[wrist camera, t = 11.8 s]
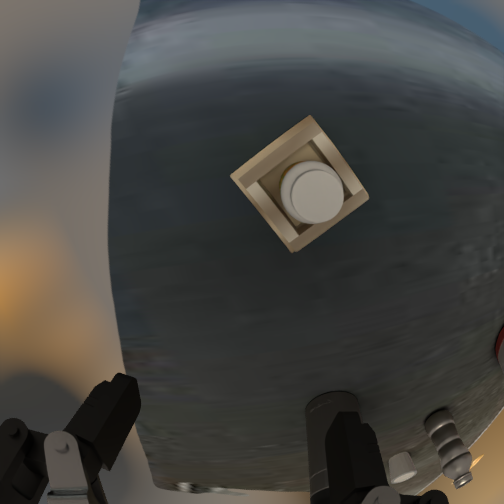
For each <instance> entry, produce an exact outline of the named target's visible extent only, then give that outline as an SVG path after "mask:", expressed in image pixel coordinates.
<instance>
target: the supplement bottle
mask: <svg viewBox="0 0 504 504" xmlns="http://www.w3.org/2000/svg"><path fill="white" fill-rule="evenodd" d="M279 191H280V195H281V200H282V203H283V205H284V207H285V209H286V210H287V212H288V213H289V214H290V215H291V216H292V217H293V218H295V219H296V220H298V221H300V222H303V223H307V224H318V223H322V222H326V221H329V220H331V219H332V218H333V217H335V216H336V215H337V214H338V212H339V211H340V209H341V207H342V205H343V200H344V193H343V185H342V182H341V179H340V178H339V176H338V174H337V173H336V172H335V171H334V170H333V169H332V168H331V167H330V166H328V165H326V164H324V163H321V162H318V161H299V162H296V163H293V164H291V165H290V166H288V167H287V168H286V169H285V170H284V172H283V173H282V175H281V177H280V181H279Z"/></svg>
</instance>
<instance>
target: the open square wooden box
mask: <svg viewBox="0 0 504 504" xmlns="http://www.w3.org/2000/svg"><path fill="white" fill-rule="evenodd" d="M299 161H318V162H321V163H324V164H326V165H328V166H330V167H331V168H332V169H333V170H334V171H335V172H336V173H337V174H338V176H339V178H340V179H341V182H342V185H343V193H344V200H343V205H342V207H341V209H340V211H339V212H338V214H337V215H336V216H335V217H333V218H332V219H331V220H329V221H326V222H322V223H318V224H307V223H303V222H300V221H298V220H296V219H295V218H293V217H292V216H291V215H290V214H289V213H288V212H287V210H286V209H285V207H284V205H283V203H282V200H281V195H280V191H279V181H280V177H281V175H282V173H283V172H284V170H285V169H286V168H287V167H288V166H290V165H291V164H293V163H296V162H299ZM230 177H231V178H232V179H233V180H234V182H235V183H236V184H237V185H238V187H239V188H240V189H241V190H242V191H243V193H244V194H245V195H246V196H247V198H248V199H249V200H250V201H251V202H252V204H253V205H254V206H255V207H256V209H257V210H258V211H259V212H260V214H261V215H262V216H263V217H264V219H265V220H266V221H267V222H268V224H269V225H270V226H271V227H272V229H273V230H274V231H275V232H276V234H277V235H278V236H279V237H280V239H281V240H282V241H283V243H284V244H285V245H286V246H287V248H288V249H289V250H290V252H291V253H293V252H294V251H296V252H297V251H299V250H300V249H302V248H303V247H304V246H306V245H307V244H309V243H310V242H311V241H313V240H314V239H315V238H317V237H318V236H320V235H321V234H322V233H324V232H325V231H326V230H328V229H329V228H330V227H332V226H333V225H335V224H336V223H337V222H339V221H340V220H341V219H343V218H344V217H345V216H347V215H348V214H349V213H351V212H352V211H353V210H355V209H356V208H357V207H359V206H360V205H361V204H363V203H364V202H365V201H367V200H368V199H369V195H368V193H367V192H366V190H365V189H364V187H363V186H362V184H361V183H360V181H359V180H358V178H357V177H356V175H355V174H354V172H353V171H352V170H351V168H350V167H349V165H348V164H347V162H346V161H345V160H344V158H343V157H342V155H341V154H340V153H339V151H338V150H337V149H336V147H335V146H334V145H333V143H332V142H331V141H330V139H329V138H328V137H327V135H326V134H325V133H324V132H323V130H322V129H321V128H320V126H319V125H318V124H317V123H316V121H315V120H314V119H313V118H312V117H311V115H309V116H308V117H306V118H305V119H303V120H302V121H301V122H299V123H298V124H296V125H295V126H294V127H292V128H291V129H290V130H288V131H287V132H285V133H284V134H283V135H281V136H280V137H279V138H277V139H276V140H275V141H273V142H272V143H271V144H269V145H268V146H267V147H266V148H264V149H263V150H262V151H260V152H259V153H258V154H256V155H255V156H254V157H253V158H251V159H250V160H249V161H248V162H246V163H245V164H244V165H243V166H241V167H240V168H239V169H238V170H236V171H235V172H234V173H233V174H231V175H230Z"/></svg>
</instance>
